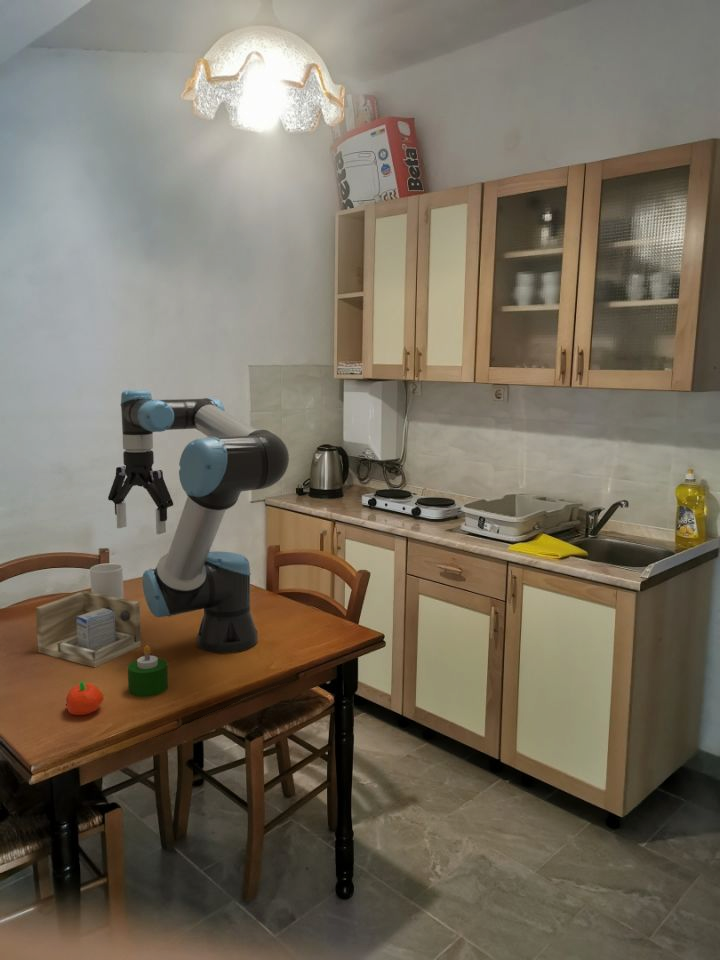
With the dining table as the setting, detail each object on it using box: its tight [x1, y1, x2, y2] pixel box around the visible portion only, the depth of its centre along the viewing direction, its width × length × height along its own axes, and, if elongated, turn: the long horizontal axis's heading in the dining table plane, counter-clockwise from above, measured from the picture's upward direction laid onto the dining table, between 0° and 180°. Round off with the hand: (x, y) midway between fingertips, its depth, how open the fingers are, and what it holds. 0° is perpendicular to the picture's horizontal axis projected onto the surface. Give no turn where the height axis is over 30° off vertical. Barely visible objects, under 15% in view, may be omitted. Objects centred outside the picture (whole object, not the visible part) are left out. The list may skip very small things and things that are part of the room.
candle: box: [127, 644, 169, 698], centre depth 162 cm, size 8×8×10 cm
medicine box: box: [76, 608, 116, 651], centre depth 180 cm, size 8×4×9 cm, turn 145°
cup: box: [89, 562, 125, 599], centre depth 200 cm, size 8×8×16 cm
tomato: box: [65, 680, 104, 716], centre depth 151 cm, size 7×8×6 cm
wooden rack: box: [35, 590, 142, 668], centre depth 183 cm, size 19×15×12 cm
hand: (141, 530), depth 195 cm, fingers open, 13 cm apart
